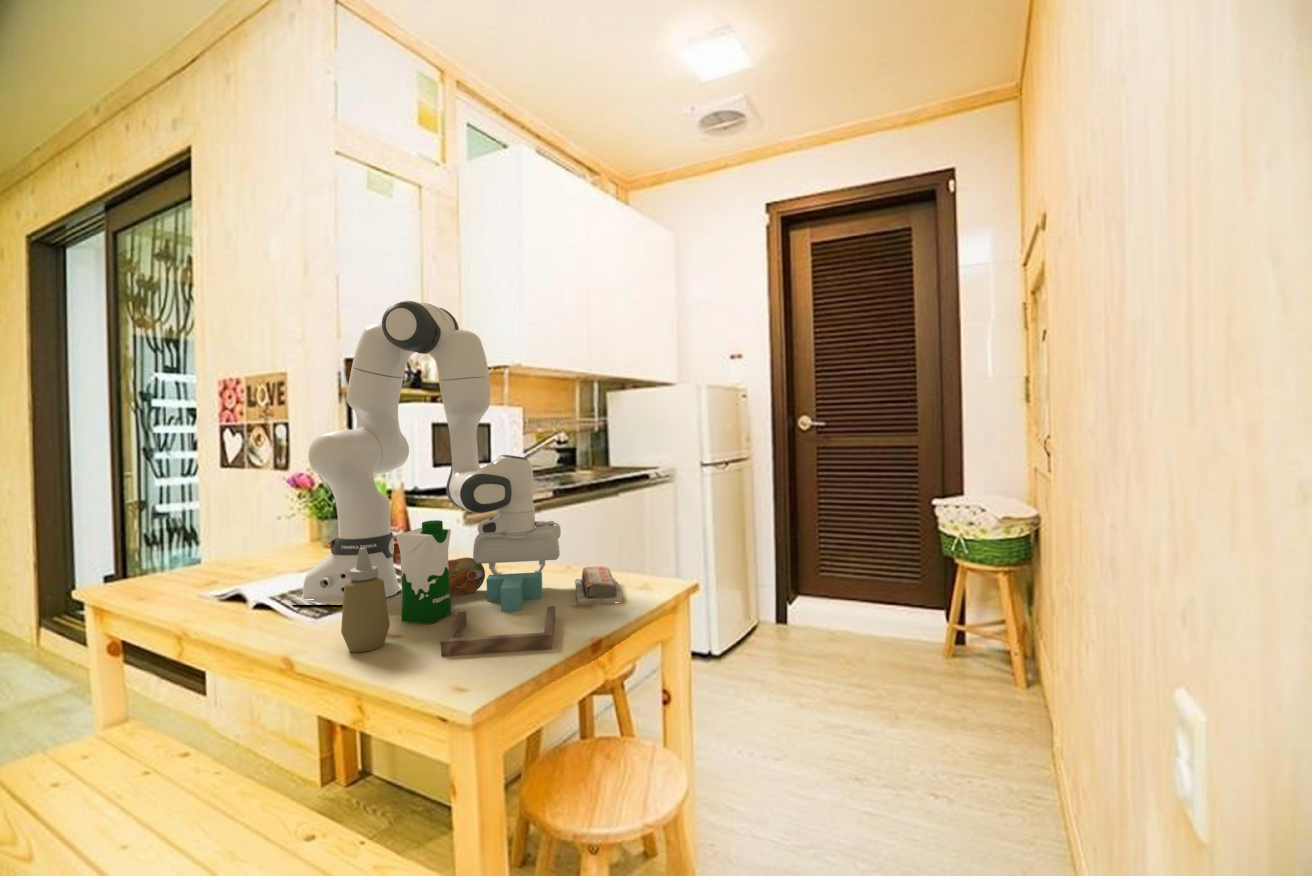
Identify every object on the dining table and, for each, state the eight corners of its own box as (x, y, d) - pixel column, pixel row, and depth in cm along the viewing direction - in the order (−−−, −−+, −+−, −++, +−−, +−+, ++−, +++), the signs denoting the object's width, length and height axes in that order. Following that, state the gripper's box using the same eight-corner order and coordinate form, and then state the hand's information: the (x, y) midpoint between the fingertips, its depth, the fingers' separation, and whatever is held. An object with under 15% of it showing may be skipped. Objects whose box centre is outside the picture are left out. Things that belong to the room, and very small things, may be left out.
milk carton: (431, 626, 122) (428, 526, 121) (393, 622, 124) (389, 524, 123) (458, 612, 130) (455, 518, 129) (421, 609, 133) (418, 517, 132)
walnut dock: (441, 656, 106) (440, 642, 106) (458, 624, 123) (458, 611, 123) (552, 648, 109) (551, 634, 109) (555, 618, 125) (554, 606, 125)
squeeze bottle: (372, 656, 107) (368, 554, 106) (331, 654, 108) (327, 553, 107) (399, 639, 115) (396, 544, 114) (361, 637, 116) (357, 543, 115)
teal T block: (481, 612, 130) (481, 589, 129) (489, 596, 141) (489, 574, 141) (539, 609, 131) (538, 586, 131) (542, 593, 143) (541, 572, 143)
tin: (418, 602, 138) (417, 565, 138) (416, 598, 141) (415, 562, 141) (486, 591, 146) (484, 556, 145) (482, 588, 148) (481, 553, 148)
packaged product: (574, 566, 150) (614, 563, 152) (574, 585, 151) (615, 583, 152) (577, 586, 133) (622, 583, 134) (577, 608, 133) (623, 605, 134)
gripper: (560, 518, 151) (562, 574, 152) (475, 521, 148) (476, 578, 149) (560, 522, 145) (561, 580, 145) (470, 526, 142) (472, 585, 143)
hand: (517, 579), depth 147 cm, fingers open, 8 cm apart
